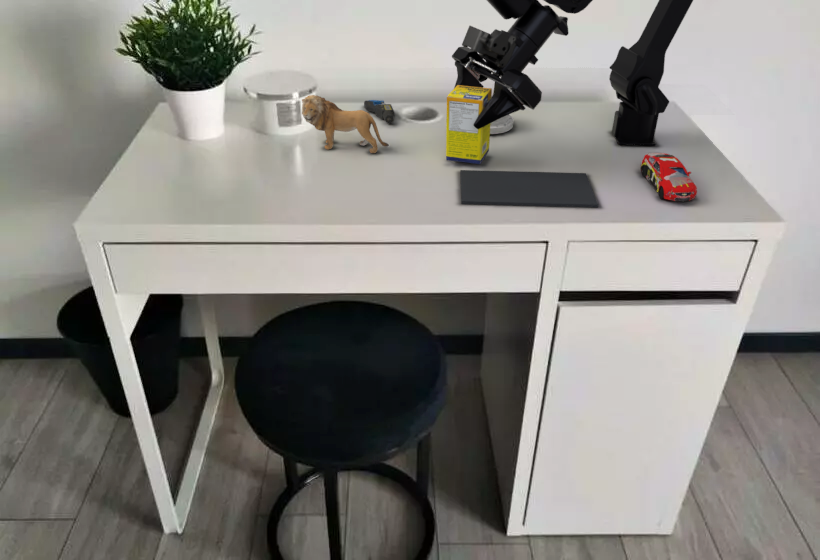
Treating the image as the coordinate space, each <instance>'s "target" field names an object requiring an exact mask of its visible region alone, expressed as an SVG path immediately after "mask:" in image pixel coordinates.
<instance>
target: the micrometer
mask: <svg viewBox="0 0 820 560" xmlns="http://www.w3.org/2000/svg"><path fill="white" fill-rule="evenodd" d="M363 107H364V109H365V110H366V112H372V113H375V116H376V117H377V118H380V119H381V120H384V121H385V123H387V124H392V123H393V122H394V117H395V110H394V107H393V106H392V104H390V103H385V101H384V100H383V99H382V100H377V99H369V100H364V102H363Z"/></svg>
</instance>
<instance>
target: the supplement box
mask: <svg viewBox="0 0 820 560" xmlns="http://www.w3.org/2000/svg"><path fill="white" fill-rule="evenodd" d="M454 87H455V86H454ZM492 96H493V89H492V88H491V87H483V88H482V87H471V86H462V85H457V86H456V87H455V88H453V89H452V90H451V91H450V92H449V93H448V95H447V96H446V121H445V122H446V123H445V124H446V126H445V127H446V128H445V131H446V132H445V133H446V134H445V135H446V136H445V137H446V138H445V160H446V161H450V162H459V163H466V164H474V165H481V164H482V162H483V161H484V159H485V157H486V156H487V155H488V153H489V152H490V138H491V134H490V124H488V125H486V126H484V127H482V128H480V129H476V128H475V127H474V123H475V121H476V119H477V118H478V116H479V115H480V113H481V112H482V110H483V109H484V107H485V106H486V105H487V103H488V102H489V100H490V99H491V97H492Z"/></svg>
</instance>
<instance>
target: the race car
mask: <svg viewBox="0 0 820 560" xmlns="http://www.w3.org/2000/svg"><path fill="white" fill-rule="evenodd" d="M640 171H641V175H642V178H646V180H647V181H648V182H649V184H650V185H651V186H652V188H653V189H655V191H656V192H657V193H658V197H659V199H660V200H667V201H672V202H690V201H692V200H695V199H696V197H697V194H698V187H697V185H696V184H695V182H694V180H693V179H692V178H691V176H690V175H691V174H692V171H688V170H687V169H686V167H685V166H684V164H683V163H682V162H681V160H679V158H678V157H676V156H674V155H673V154H669V153H666V152H648V153H646V154H645V155H644V156H643V158H642V160H641V164H640Z"/></svg>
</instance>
